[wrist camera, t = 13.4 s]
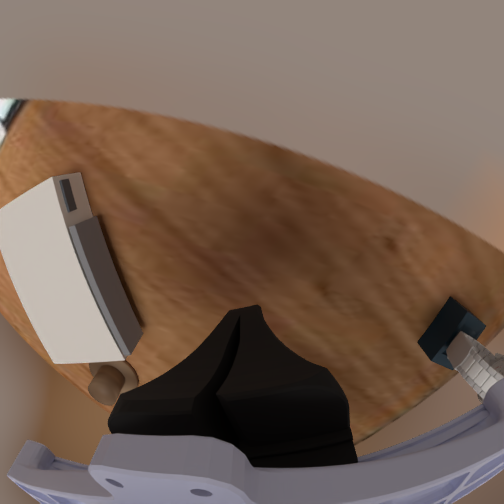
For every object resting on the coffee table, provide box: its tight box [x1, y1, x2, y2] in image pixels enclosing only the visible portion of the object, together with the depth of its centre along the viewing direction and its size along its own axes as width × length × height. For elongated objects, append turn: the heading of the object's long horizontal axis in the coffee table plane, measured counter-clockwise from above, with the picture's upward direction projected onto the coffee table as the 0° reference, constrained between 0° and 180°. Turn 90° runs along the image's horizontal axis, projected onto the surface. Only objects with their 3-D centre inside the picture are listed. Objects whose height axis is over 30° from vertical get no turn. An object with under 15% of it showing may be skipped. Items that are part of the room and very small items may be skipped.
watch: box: [417, 297, 504, 403], centre depth 18 cm, size 6×8×11 cm
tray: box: [69, 216, 143, 355], centre depth 20 cm, size 9×10×3 cm
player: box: [0, 172, 128, 364], centre depth 20 cm, size 9×15×4 cm, turn 14°
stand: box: [88, 360, 138, 405], centre depth 24 cm, size 6×6×4 cm
